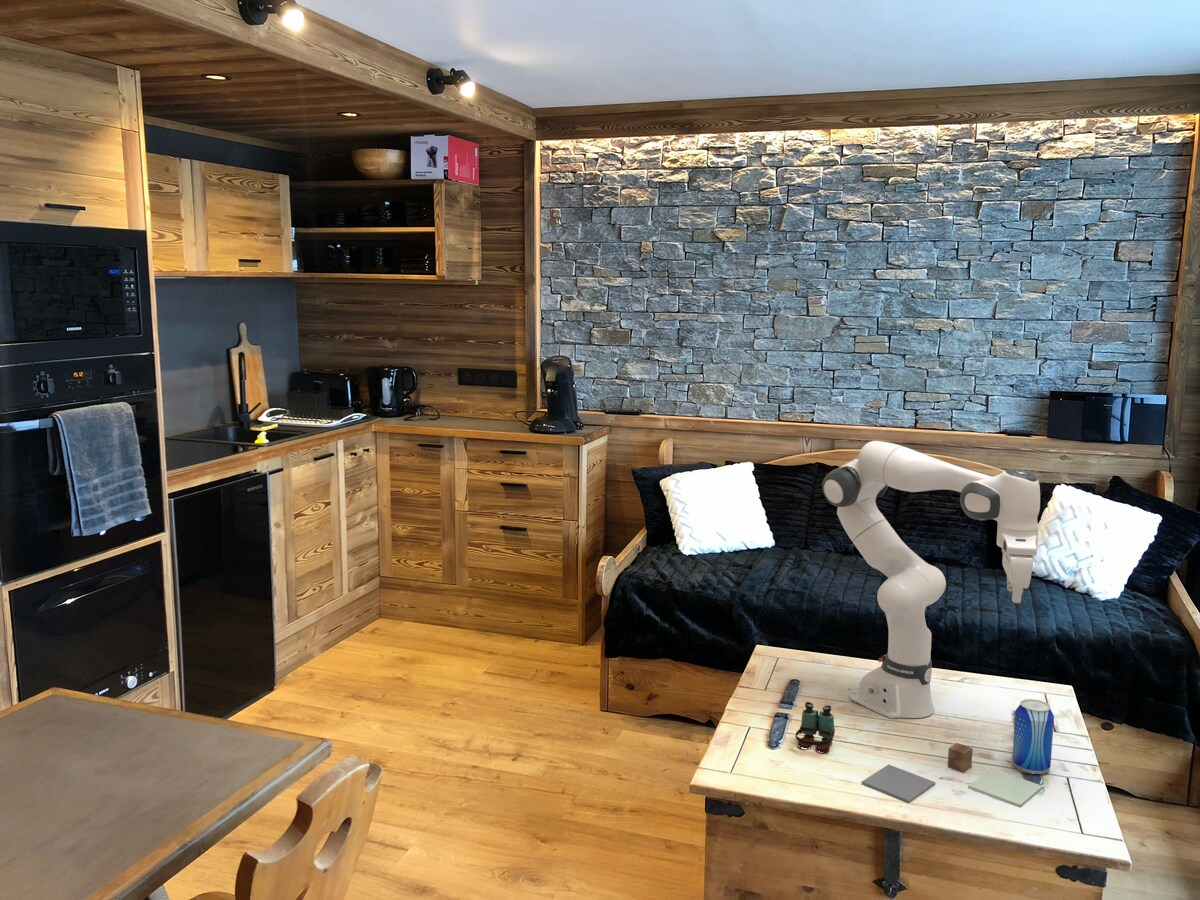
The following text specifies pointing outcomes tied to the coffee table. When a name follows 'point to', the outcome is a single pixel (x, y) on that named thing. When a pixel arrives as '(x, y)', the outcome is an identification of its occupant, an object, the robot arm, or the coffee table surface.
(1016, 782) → the sage tile
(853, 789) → the coffee table surface
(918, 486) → the robot arm
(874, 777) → the slate tile
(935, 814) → the coffee table surface
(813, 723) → the binoculars
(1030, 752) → the beer can
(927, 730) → the coffee table surface
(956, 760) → the walnut block
